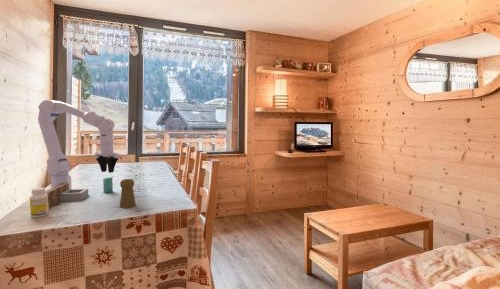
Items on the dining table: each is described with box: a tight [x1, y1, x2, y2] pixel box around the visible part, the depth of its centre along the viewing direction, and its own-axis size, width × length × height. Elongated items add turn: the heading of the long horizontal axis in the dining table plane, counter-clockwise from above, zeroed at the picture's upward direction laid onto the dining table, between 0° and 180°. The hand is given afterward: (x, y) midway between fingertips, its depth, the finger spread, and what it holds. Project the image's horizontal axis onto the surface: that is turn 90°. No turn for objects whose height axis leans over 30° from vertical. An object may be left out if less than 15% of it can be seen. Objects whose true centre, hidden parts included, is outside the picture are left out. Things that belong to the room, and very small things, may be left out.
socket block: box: [59, 188, 89, 202], centre depth 130 cm, size 9×9×4 cm
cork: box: [119, 178, 137, 209], centre depth 118 cm, size 6×6×11 cm
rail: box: [45, 183, 69, 209], centre depth 124 cm, size 22×2×6 cm, turn 12°
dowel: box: [102, 176, 114, 194], centre depth 142 cm, size 4×4×7 cm
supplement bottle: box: [29, 187, 50, 218], centre depth 106 cm, size 5×5×10 cm
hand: (107, 172), depth 141 cm, fingers open, 4 cm apart
